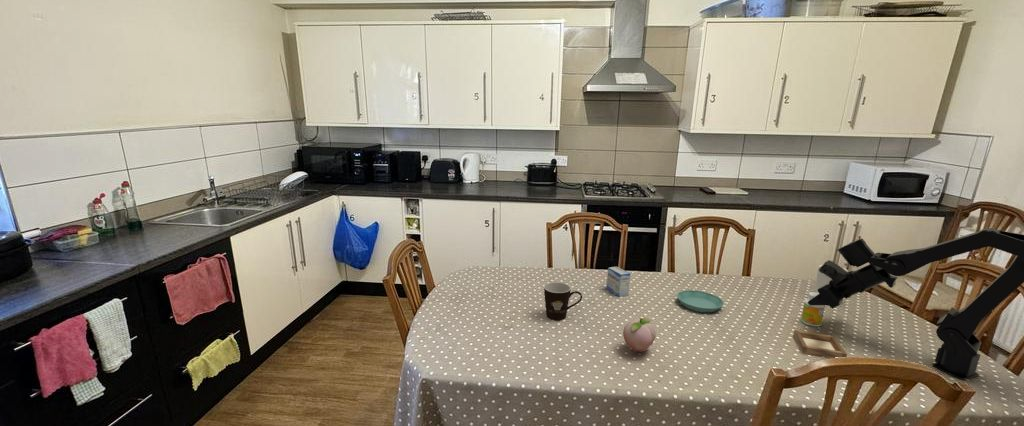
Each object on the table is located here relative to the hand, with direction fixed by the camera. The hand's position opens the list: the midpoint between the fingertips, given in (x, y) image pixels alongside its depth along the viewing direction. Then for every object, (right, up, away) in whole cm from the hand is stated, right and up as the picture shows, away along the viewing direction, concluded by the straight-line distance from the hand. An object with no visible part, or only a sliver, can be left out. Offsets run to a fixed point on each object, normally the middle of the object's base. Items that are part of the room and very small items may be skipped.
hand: (811, 301), depth 134 cm
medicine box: (-56, -2, +23) cm, 60 cm away
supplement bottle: (0, -7, +1) cm, 7 cm away
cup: (+18, -3, +18) cm, 26 cm away
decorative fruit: (-60, -11, -16) cm, 63 cm away
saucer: (-30, -4, +13) cm, 33 cm away
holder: (-8, -10, -14) cm, 19 cm away
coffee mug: (-79, -6, +3) cm, 79 cm away
